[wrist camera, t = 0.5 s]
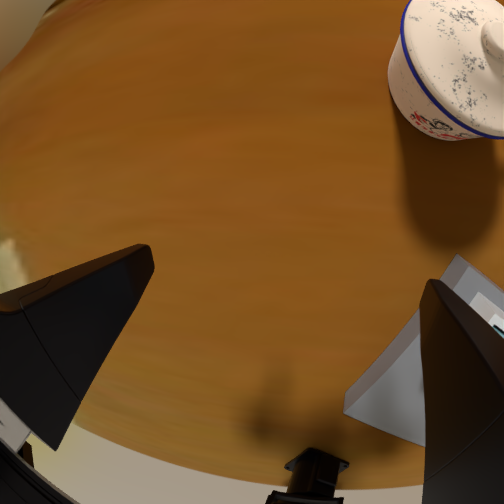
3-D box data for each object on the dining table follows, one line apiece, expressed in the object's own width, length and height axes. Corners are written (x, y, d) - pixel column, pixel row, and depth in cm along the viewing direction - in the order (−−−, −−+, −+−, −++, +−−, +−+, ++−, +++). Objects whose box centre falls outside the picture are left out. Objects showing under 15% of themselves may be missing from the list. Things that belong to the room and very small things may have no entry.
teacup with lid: (395, 145, 20) (441, 133, 9) (372, 35, 17) (382, -51, 7) (522, 146, 16) (612, 150, 5) (499, 43, 13) (567, -6, 3)
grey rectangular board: (476, 447, 24) (483, 484, 18) (345, 392, 27) (339, 441, 21) (568, 352, 17) (590, 385, 11) (456, 253, 20) (486, 284, 14)
